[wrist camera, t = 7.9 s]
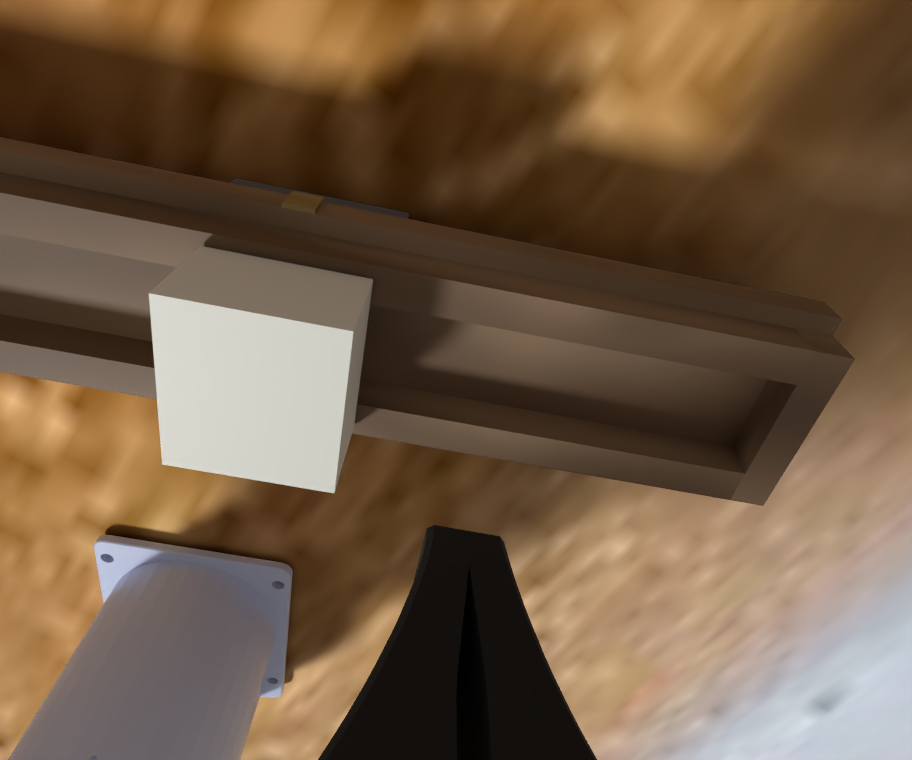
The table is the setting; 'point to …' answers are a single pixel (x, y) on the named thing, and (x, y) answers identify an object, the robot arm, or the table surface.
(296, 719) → the table surface
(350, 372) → the block
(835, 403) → the table surface
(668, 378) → the beam
